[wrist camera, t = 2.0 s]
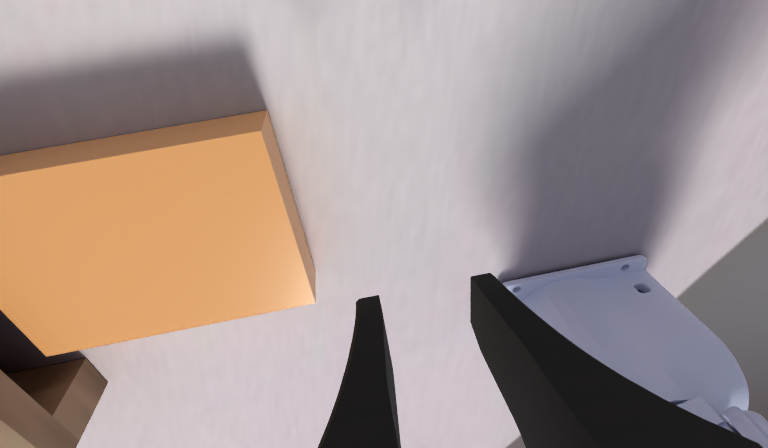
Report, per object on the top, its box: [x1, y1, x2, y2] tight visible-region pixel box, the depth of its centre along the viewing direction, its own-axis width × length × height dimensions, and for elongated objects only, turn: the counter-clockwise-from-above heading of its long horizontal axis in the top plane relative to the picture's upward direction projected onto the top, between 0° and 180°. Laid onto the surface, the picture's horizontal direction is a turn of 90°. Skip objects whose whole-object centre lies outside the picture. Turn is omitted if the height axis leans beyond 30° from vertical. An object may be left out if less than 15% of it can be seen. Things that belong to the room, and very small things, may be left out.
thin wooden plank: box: [0, 110, 316, 357], centre depth 17 cm, size 13×9×2 cm
